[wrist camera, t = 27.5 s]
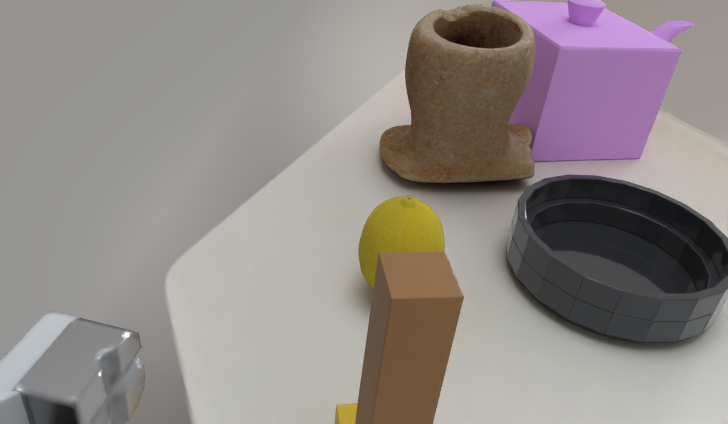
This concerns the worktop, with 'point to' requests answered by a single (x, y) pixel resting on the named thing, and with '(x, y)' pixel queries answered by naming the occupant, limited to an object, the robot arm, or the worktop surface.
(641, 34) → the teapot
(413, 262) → the sponge wand
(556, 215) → the bowl
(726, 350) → the worktop surface
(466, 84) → the stone cup
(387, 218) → the lemon
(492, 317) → the worktop surface
